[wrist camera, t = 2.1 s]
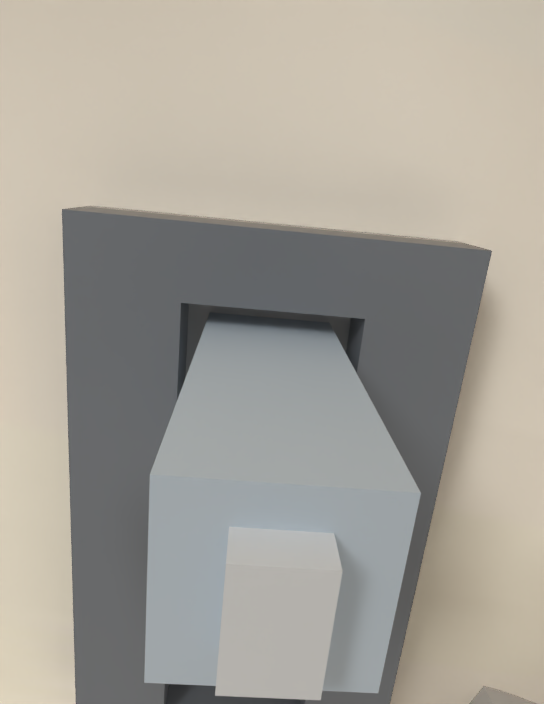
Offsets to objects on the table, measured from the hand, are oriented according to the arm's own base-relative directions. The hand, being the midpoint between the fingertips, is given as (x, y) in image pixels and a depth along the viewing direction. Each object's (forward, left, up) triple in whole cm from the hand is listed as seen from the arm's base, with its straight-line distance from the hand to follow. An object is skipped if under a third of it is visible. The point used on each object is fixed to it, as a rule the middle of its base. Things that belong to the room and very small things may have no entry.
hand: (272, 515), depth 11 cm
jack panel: (+5, 0, -8) cm, 10 cm away
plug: (0, 0, -8) cm, 8 cm away
